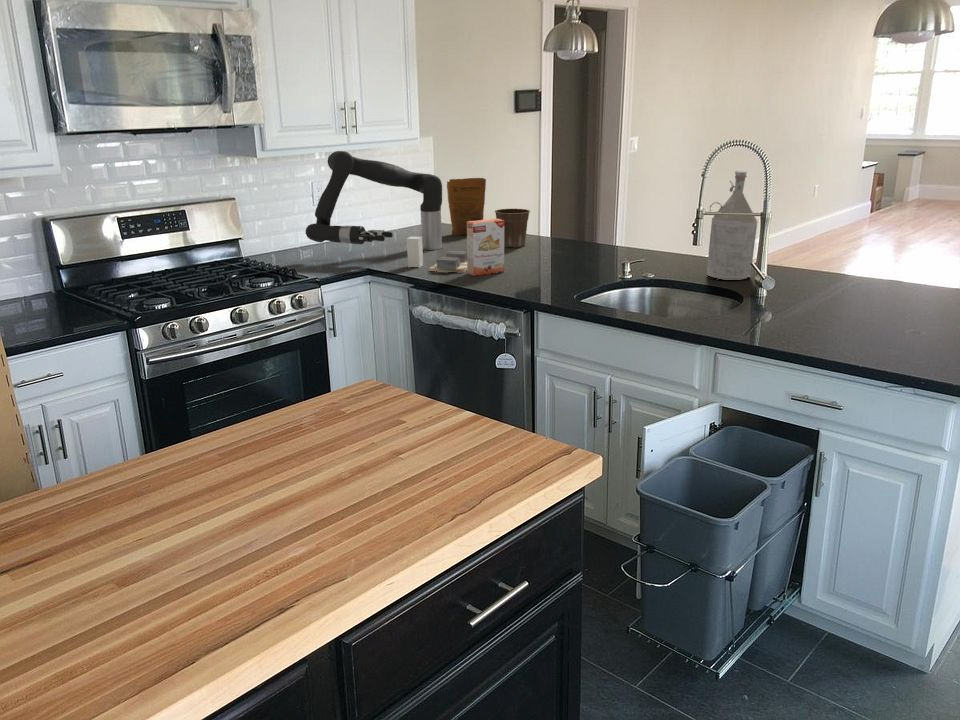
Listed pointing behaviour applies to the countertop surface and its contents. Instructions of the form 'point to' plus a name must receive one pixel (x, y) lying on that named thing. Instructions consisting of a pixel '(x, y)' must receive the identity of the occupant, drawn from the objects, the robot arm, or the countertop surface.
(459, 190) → the pancake mix bag
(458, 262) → the board
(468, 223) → the cracker box
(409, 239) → the white block
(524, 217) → the plant pot
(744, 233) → the grey jug
